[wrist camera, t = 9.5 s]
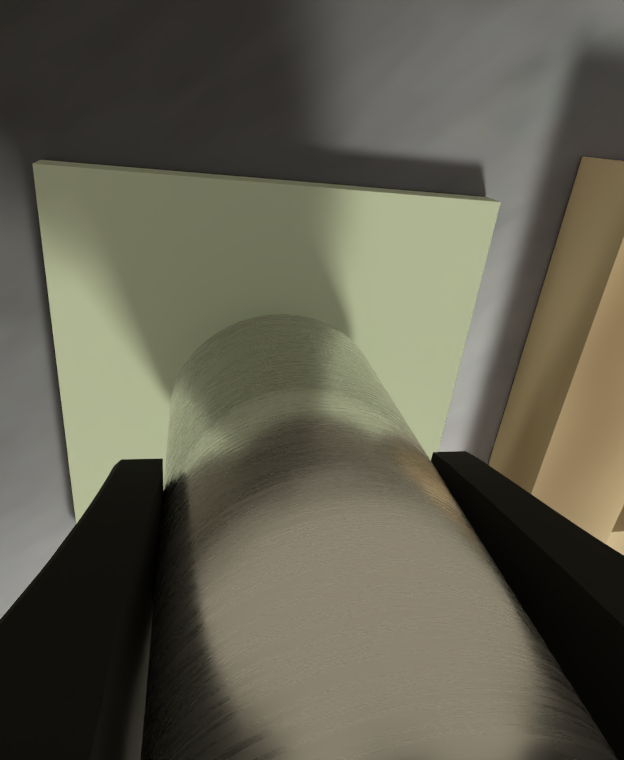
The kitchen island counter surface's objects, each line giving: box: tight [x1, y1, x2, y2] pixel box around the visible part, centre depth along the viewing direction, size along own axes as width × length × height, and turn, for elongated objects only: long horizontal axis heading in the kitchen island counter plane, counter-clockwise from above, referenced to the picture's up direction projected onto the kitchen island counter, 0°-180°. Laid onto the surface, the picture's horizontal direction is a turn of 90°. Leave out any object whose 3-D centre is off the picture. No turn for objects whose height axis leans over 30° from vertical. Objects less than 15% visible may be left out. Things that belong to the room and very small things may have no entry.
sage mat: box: [32, 160, 500, 524], centre depth 13 cm, size 9×9×1 cm
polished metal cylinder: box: [141, 314, 618, 760], centre depth 8 cm, size 4×4×8 cm
